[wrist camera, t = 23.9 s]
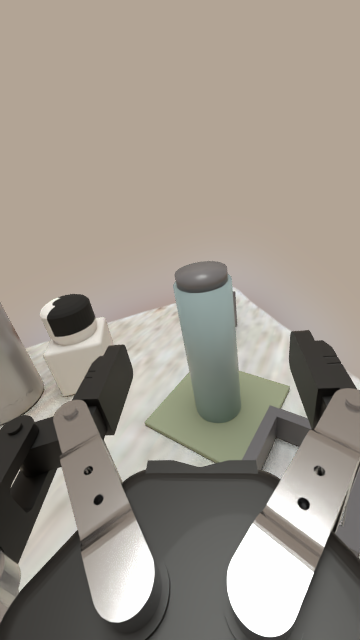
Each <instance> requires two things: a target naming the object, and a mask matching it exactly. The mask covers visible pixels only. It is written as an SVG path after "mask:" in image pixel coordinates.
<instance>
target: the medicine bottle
mask: <svg viewBox="0 0 360 640" xmlns="http://www.w3.org/2000/svg"><path fill="white" fill-rule="evenodd" d="M40 317H41V319H42V321H43V324H44V326H45V328H46V330H47V332H48V334H49V336H50V338H51V339H50V342H49V344H48V346H47V348H46V350H45V353H44V355H43V357H44V359H45V361H46V363H47V365H48V367H49V369H50V371H51V373H52V375H53V377H54V379H55V381H56V383H57V385H58V387H59V389H60V391H61V393H62V395H63V396H69V395H73V394H76V392H77V390H78V388H79V386H80V384H81V383H82V381H83V379H84V377H85V375H86V373H87V372H88V369H89V368H90V366H91V364H92V363H93V362H94V361H95V360H96V359H97V358H98V357H99V356H103V355H104V353H105V351H106V349H107V347H108V346H110V345H114V343H113V340H112V337H111V334H110V331H109V328H108V325H107V322H106V319H105V318H104V317H101V318H95V315H94V312H93V310H92V307H91V304H90V301H89V299H88V298H87V297H86V296H84V295H80V294H70V295H65V296H61V297H58V298H56V299H54V300H52V301H50V302H49V303H48V304H46V305H45V306H44V307H43V308H42V309H41V311H40Z"/></svg>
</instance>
